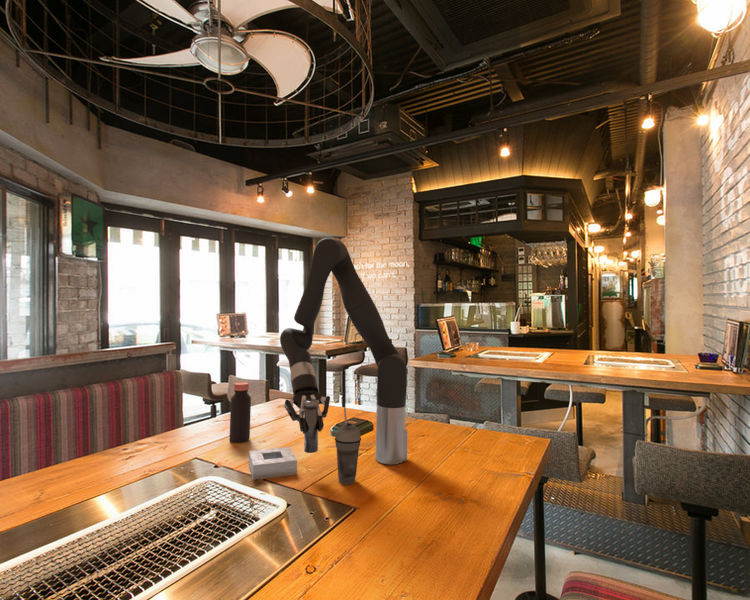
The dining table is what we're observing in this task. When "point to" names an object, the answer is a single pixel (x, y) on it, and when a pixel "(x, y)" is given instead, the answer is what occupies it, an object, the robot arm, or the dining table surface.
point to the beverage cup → (347, 452)
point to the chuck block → (272, 463)
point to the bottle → (240, 413)
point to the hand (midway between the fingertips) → (312, 430)
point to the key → (311, 425)
